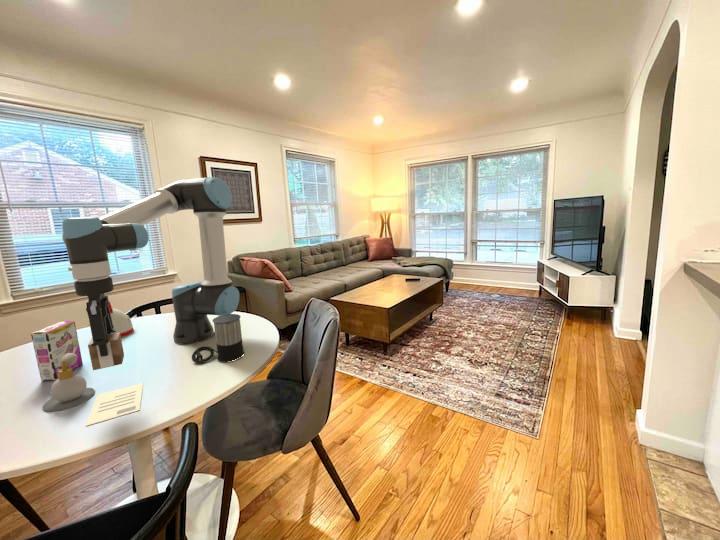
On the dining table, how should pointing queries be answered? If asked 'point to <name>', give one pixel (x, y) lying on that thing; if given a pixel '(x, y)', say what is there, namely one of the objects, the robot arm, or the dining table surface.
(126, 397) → the letter
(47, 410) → the grey smooth round part
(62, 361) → the perfume bottle
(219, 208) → the robot arm
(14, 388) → the dining table surface
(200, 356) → the milk frother
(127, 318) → the white and red dome
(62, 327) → the candy bar box
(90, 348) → the walnut block
